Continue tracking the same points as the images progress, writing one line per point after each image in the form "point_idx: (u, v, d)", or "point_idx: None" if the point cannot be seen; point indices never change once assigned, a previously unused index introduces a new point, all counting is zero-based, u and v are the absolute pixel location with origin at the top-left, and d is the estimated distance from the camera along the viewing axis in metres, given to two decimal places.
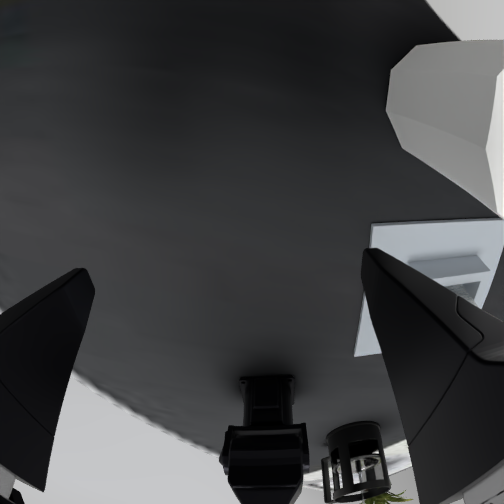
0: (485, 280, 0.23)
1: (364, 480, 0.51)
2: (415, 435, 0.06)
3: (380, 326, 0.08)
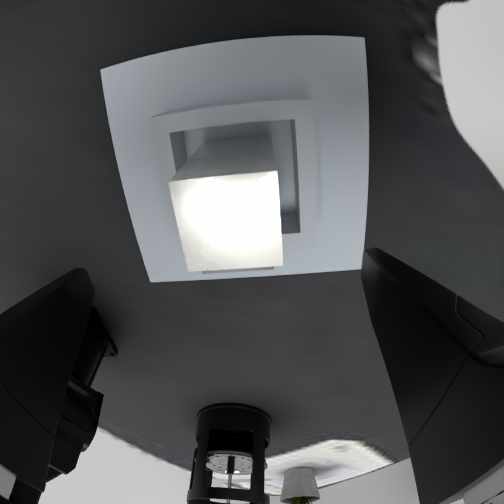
0: (310, 120, 0.14)
1: (283, 487, 0.43)
2: (415, 435, 0.06)
3: (380, 326, 0.08)
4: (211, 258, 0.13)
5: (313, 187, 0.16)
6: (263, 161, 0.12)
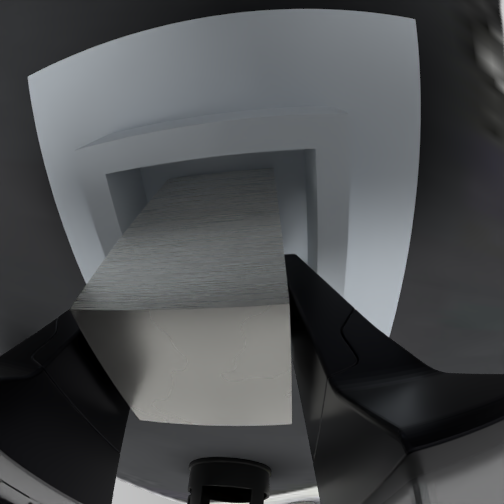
0: (342, 151, 0.08)
1: None
2: (315, 453, 0.06)
3: None
4: (171, 412, 0.07)
5: (340, 259, 0.10)
6: (259, 255, 0.06)
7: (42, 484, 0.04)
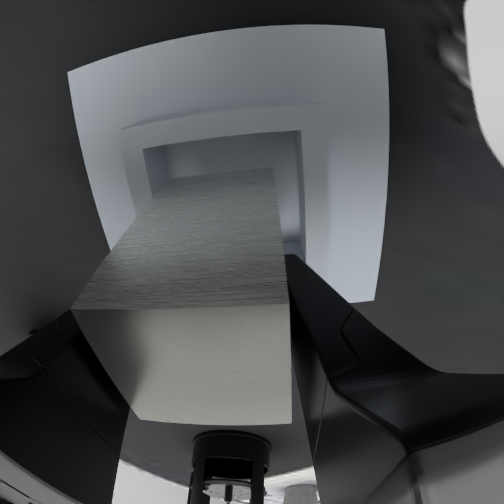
0: (320, 132, 0.11)
1: None
2: (314, 453, 0.06)
3: None
4: (171, 411, 0.07)
5: (323, 215, 0.13)
6: (259, 254, 0.06)
7: (42, 484, 0.04)
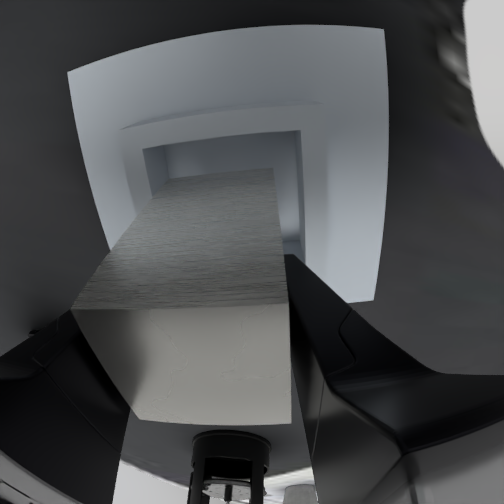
0: (320, 131, 0.11)
1: None
2: (313, 453, 0.06)
3: None
4: (171, 411, 0.07)
5: (322, 215, 0.13)
6: (258, 254, 0.06)
7: (43, 484, 0.04)
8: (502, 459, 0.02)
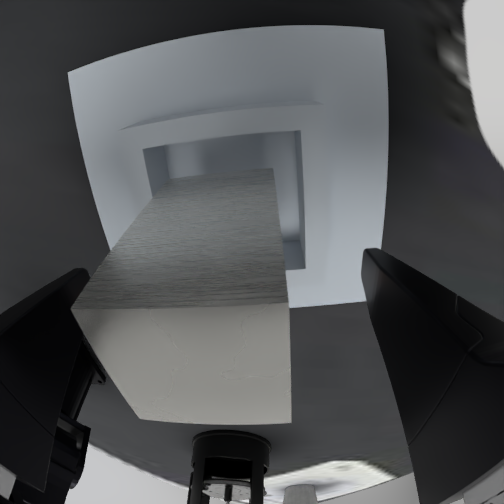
0: (320, 132, 0.11)
1: None
2: (415, 435, 0.06)
3: (380, 326, 0.08)
4: (171, 411, 0.07)
5: (322, 215, 0.13)
6: (258, 254, 0.06)
7: None
8: None
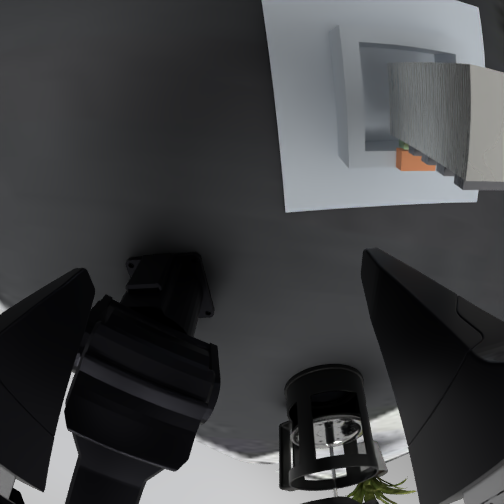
0: (465, 57, 0.12)
1: None
2: (415, 435, 0.06)
3: (380, 326, 0.08)
4: (489, 166, 0.08)
5: None
6: None
7: None
8: None
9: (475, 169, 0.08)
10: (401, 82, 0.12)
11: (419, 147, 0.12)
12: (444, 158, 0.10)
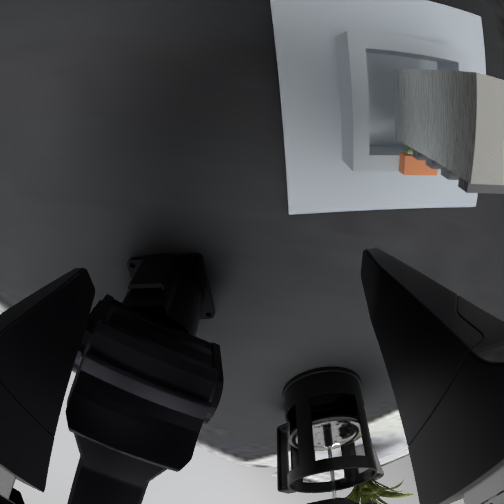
0: (467, 65, 0.13)
1: None
2: (415, 435, 0.06)
3: (380, 326, 0.08)
4: (492, 170, 0.08)
5: None
6: None
7: None
8: None
9: (479, 173, 0.09)
10: (407, 88, 0.12)
11: (424, 151, 0.12)
12: (449, 162, 0.10)
